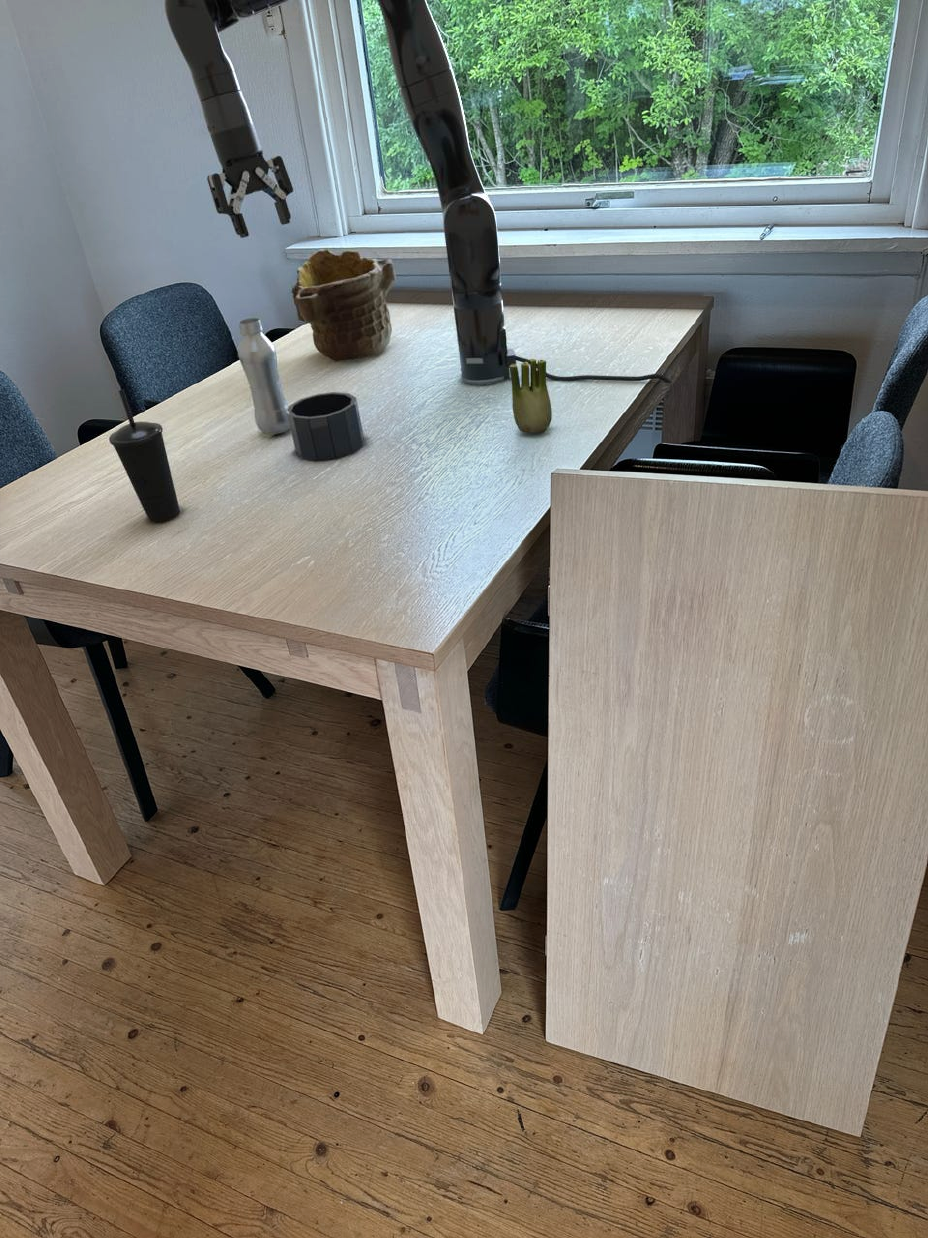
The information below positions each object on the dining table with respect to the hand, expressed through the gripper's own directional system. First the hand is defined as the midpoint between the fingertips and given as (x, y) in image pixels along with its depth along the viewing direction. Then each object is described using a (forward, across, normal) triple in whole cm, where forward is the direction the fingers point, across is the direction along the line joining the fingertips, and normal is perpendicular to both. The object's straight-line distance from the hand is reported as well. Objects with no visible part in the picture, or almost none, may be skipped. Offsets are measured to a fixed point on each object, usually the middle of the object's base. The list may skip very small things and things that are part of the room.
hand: (265, 230), depth 153 cm
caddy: (+34, -11, -18) cm, 40 cm away
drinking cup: (+32, -42, -18) cm, 56 cm away
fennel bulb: (+39, +12, -44) cm, 60 cm away
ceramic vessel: (+30, +22, +22) cm, 43 cm away
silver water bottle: (+32, -13, -3) cm, 35 cm away
